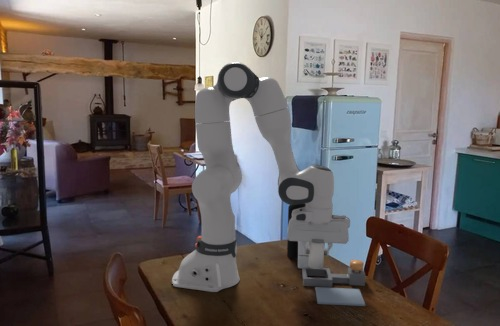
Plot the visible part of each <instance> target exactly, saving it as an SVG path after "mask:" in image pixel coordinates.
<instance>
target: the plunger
mask: <svg viewBox="0 0 500 326" xmlns="http://www.w3.org/2000/svg"><path fill="white" fill-rule="evenodd" d="M349 268H350V269H352V270H354V272H359V271H360V270H364V261H362V260H360V259H359V260H358V259H351V260H350V261H349Z"/></svg>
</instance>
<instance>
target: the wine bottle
mask: <svg viewBox="0 0 500 326" xmlns="http://www.w3.org/2000/svg"><path fill="white" fill-rule="evenodd" d="M302 207H306V203H305V204H297V205H290V204H288V209H287V210H288V211H287V225H288V224H289V221H290V219H291V218H292V211H293V210H294V209H298V208H302ZM286 243H287V245H286V246H287V247H286V249H287V250H286V256H287V257H288V258H289V259H293V260H298V241H289V240H288V239H287V242H286Z"/></svg>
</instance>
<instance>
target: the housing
mask: <svg viewBox="0 0 500 326" xmlns="http://www.w3.org/2000/svg"><path fill="white" fill-rule="evenodd" d="M330 269H331V268H329V267H328V268H326V267H323V268H321V269H313V268H309V267H302V269H301V278H302V286H303V287H305V286H306V287H324V288H333V284H346V285H347V284H348V285H349V286H363V287H364V286H365V285H366V284H365V283H366V272H365V269H363V270H360V271H359V272H354V270H352V269H350V267H347V272H346V273H331V270H330ZM308 276H309V277H308Z"/></svg>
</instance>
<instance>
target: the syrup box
mask: <svg viewBox="0 0 500 326" xmlns="http://www.w3.org/2000/svg"><path fill="white" fill-rule="evenodd" d="M306 247H307V248H309V242H306ZM308 260H309V254H305V249H304V247H303V245H302V241H298V259H297V268H298V269H301V270H302V267H309V266H308ZM309 268H310V267H309Z"/></svg>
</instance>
